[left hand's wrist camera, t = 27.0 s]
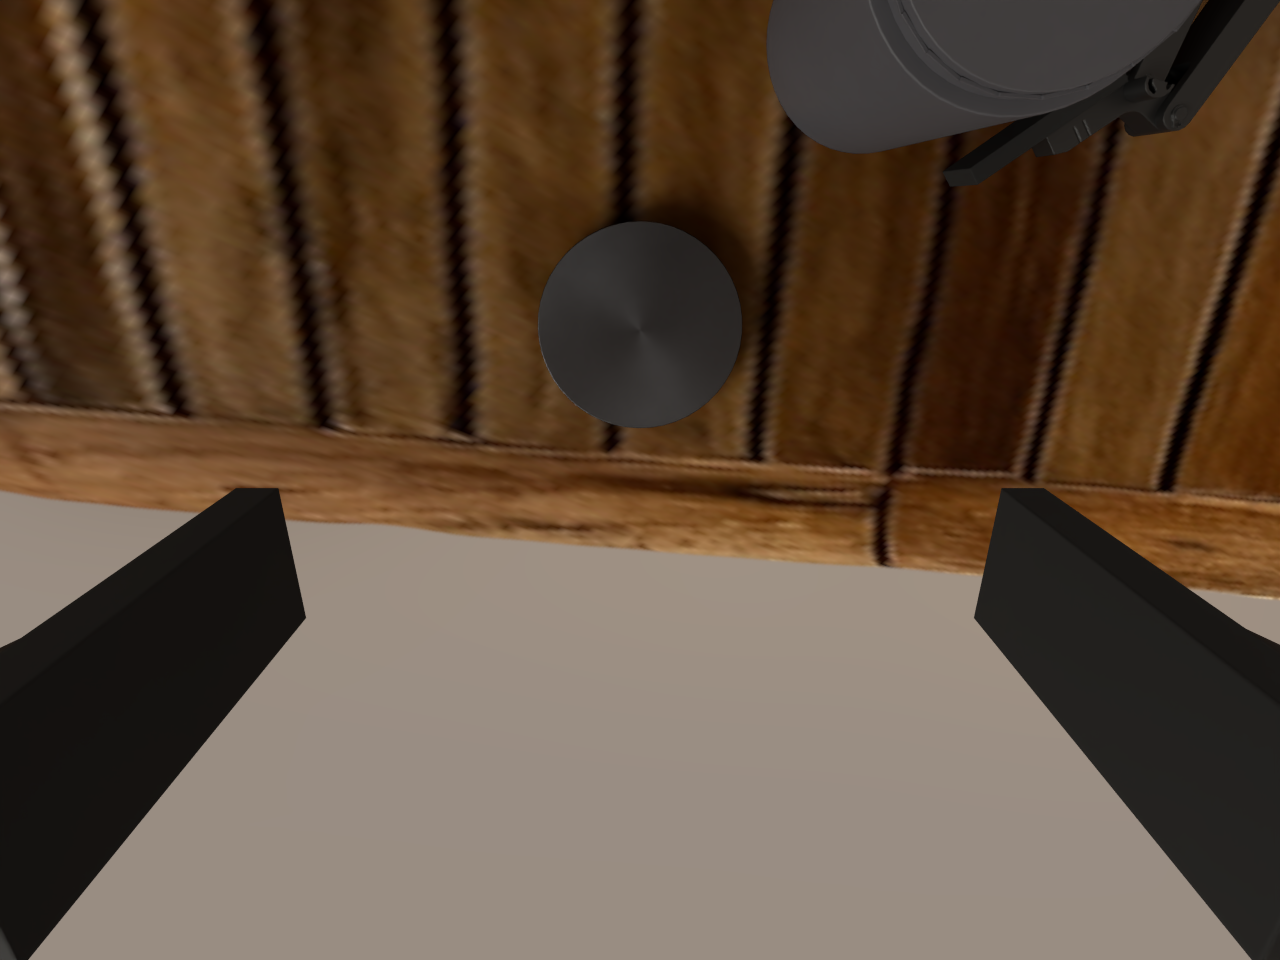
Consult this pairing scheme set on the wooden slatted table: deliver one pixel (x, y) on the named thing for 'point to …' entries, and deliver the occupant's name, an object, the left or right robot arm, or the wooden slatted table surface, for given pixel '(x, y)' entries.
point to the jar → (949, 62)
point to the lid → (640, 324)
